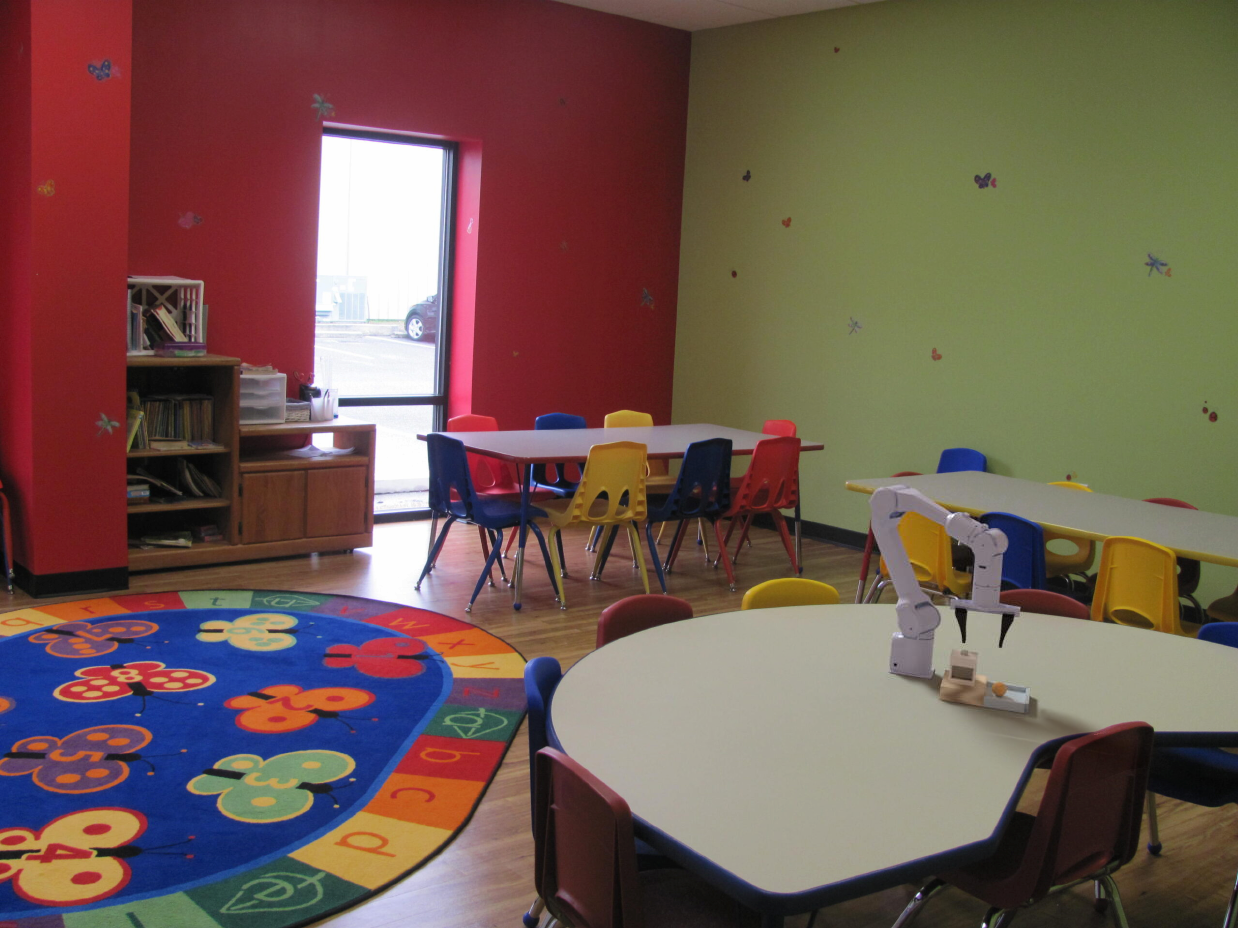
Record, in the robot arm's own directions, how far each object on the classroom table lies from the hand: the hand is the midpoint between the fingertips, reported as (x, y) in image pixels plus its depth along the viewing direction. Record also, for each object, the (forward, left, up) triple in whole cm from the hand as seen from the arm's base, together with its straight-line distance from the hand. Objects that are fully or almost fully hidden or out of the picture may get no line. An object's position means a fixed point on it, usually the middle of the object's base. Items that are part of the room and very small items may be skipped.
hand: (982, 644), depth 240 cm
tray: (+6, -5, -10) cm, 13 cm away
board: (-3, -5, -10) cm, 12 cm away
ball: (+4, -5, -8) cm, 10 cm away
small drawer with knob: (-3, -5, -7) cm, 9 cm away
